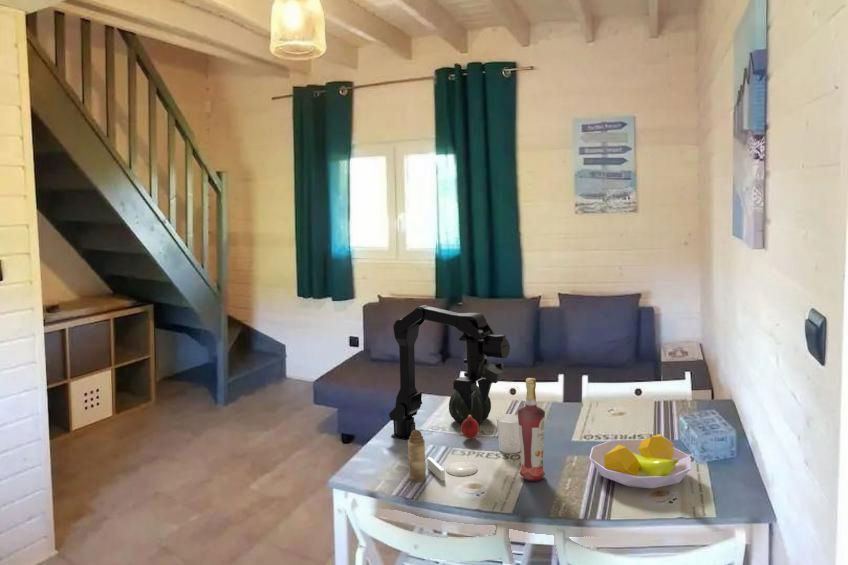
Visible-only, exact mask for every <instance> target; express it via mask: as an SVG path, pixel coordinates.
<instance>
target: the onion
mask: <svg viewBox="0 0 848 565" xmlns="http://www.w3.org/2000/svg"><path fill="white" fill-rule="evenodd" d="M460 431H461V433H462V435H463V437H465V438H466V439H469V440H472V439H473V438H475V437H476V436H477V435H478V434H479V431H480V425H479V424H478V423H477V421H476V420H475V419H473V418H472V416H471V415H469V416H468V418H467V419H465V420H464V421H463V423H461V426H460Z"/></svg>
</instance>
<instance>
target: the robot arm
mask: <svg viewBox="0 0 848 565" xmlns="http://www.w3.org/2000/svg"><path fill="white" fill-rule="evenodd" d="M426 321H429V322H433V323H436V324H442V325H445V326H449V327H453V328H455V329H456V330H457V331H458V332H461V333H463V334H461V336H460V337H459V338H458V340H459V341H460V342H462V341H463V342H464V343H465V358H464V359H463V364H466V372H464V373H463V374H464V375H463V377H462V376H460V377H458V378H456V379H455V380H453V381H452V390H454V391H455V390H456V391H458V393H459V394H460V396H461V397H462V399H463V401H464V402H465V404H466V406H467V408H468V410H472V407H473V394H474V392H475V391H476V390H477V389H476V386H478V387H479V389H480V392H481V396H482V399H483V401H484V402H487V399H488V396H490V395H489V394H490V390H491V386H492V384H497V383H498V382H501V381H502V378H503V376H504V375H505V374H506V369H505V364H504V363H502V362H500V361H499V362H497V363H496V364H494V363H493V364H492V363H490V359H489V358H495V359H508V356H509V354H510V351H511V350H510V349H511V347H510V346H511V345H510V343H509V340H508V339H507V336H506V334H495V332H494V330H493V329H492V328H491V326H490V325H489V323H488V322H487V318H486V317H485V315H484V314H483V313H480V312H455V311H451V310H447V309H442V308H439V307H432V306H430V305H427V304H423V305H420V306H416V307H415V309H414V310H412V312H410V313H408V314H407V315H405V316H404V317H402V318H399V319H397V320H395V322H394V323H393V325H392V328H393V337H394V339H395V340H396V342H397V344H398V347H399V351H398V353H399V355H398V356H399V357H398V358H399V386H400V387H399V390H398V392H397V395H396V398H395V405H394V407H393V409H392V410H391V411H390V412H389V413H388V416H389V419H390V421H393V422H392V423H393V433H392V434H391V435H390V437H392V438H396V439H399V440H400V439H401V440H405V441H408V440H409V437H410V436H411V432H412V431H413V430H417V429H416V422H415V416H416V415H417V414H418V411H419V410H420V409H421V407H422V405H423V401H422V398H423V393H422V391H421V392H420V391H418V390H417V388H416V375H415V374H416V367H415V364H416V363H415V344H416V341H417V339H418V336H419V331H420V326H421V325H423V324H424V323H425V322H426Z"/></svg>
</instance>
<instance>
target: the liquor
mask: <svg viewBox="0 0 848 565" xmlns="http://www.w3.org/2000/svg"><path fill="white" fill-rule="evenodd" d="M536 379H537V378H534V377H527V378H525V387H526V388H525V389H526V397H525V406H522V407H521V408H520V409H519V410H518V411H517V415H518V425H519V438H520V452H519V453H520V471H519V476H521V477H522V479H524V480H526V481H527V482H538V481H540V480H541V479H543V477H544V476H545V475H546V474H545V471H544V444H545V442H544V441H545V426H546V424H545V423H546V421H545V420H546V418H545V416H546V411H545V410H544V409H543V408H541V407H539V406H538V405H537V396H536V386H537V380H536Z"/></svg>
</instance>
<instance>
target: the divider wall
mask: <svg viewBox="0 0 848 565" xmlns="http://www.w3.org/2000/svg"><path fill="white" fill-rule="evenodd" d="M427 469H428V470H430V471H431V473H433V475H435V477H436V478H438V479H439V480H440V481H441V482H442V481H445V478H446V476H445V475H446V474H445V469H444V468H443V467H442V466H441V465H440V464H439V463H437V461H435V460H434V459H433V457H427Z"/></svg>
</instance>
